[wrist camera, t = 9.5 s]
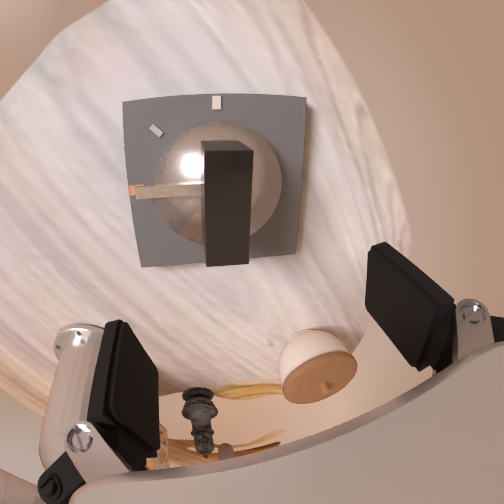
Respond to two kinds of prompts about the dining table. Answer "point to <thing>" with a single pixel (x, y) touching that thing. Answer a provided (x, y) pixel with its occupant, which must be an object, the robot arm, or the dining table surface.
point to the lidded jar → (314, 366)
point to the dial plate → (199, 112)
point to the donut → (225, 452)
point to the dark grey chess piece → (200, 417)
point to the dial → (217, 188)
